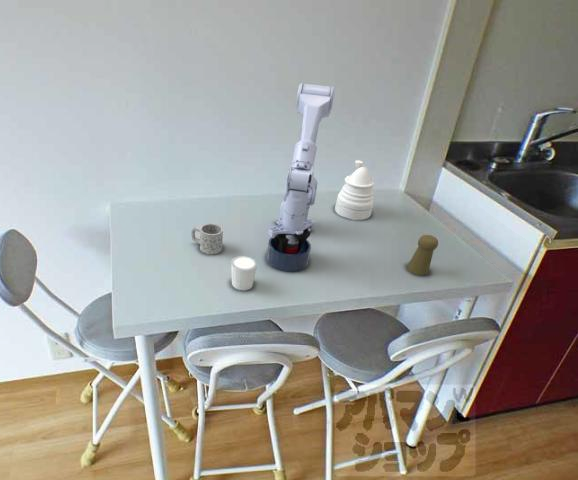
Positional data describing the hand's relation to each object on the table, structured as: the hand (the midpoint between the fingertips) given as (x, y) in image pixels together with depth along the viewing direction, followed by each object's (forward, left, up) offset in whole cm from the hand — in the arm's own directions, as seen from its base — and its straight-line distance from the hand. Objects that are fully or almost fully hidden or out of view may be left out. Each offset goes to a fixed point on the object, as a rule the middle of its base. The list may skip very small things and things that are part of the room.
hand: (288, 253), depth 123 cm
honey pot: (-17, +40, -2) cm, 44 cm away
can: (0, 0, -2) cm, 2 cm away
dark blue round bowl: (0, 0, -2) cm, 2 cm away
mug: (-16, -19, -2) cm, 25 cm away
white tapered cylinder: (+5, -18, -2) cm, 19 cm away
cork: (+20, +33, -2) cm, 39 cm away
